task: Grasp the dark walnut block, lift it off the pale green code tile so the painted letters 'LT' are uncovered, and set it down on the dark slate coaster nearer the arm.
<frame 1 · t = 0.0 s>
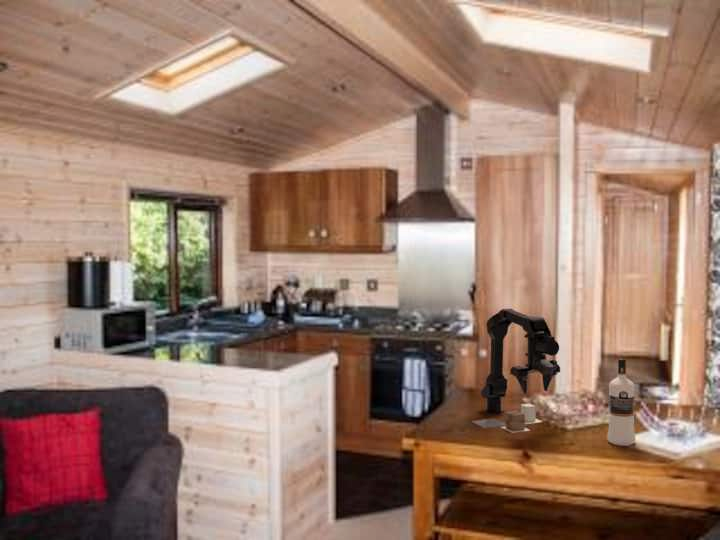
hand: (535, 392, 249), 15 cm above the table, fingers open, 9 cm apart
code tile HI: (528, 420, 262), on the table
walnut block: (515, 428, 252), resting on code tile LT
slate coaster: (489, 424, 259), on the table
grey block: (528, 420, 262), resting on code tile HI
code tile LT: (515, 429, 252), on the table
vodka: (621, 442, 235), on the table
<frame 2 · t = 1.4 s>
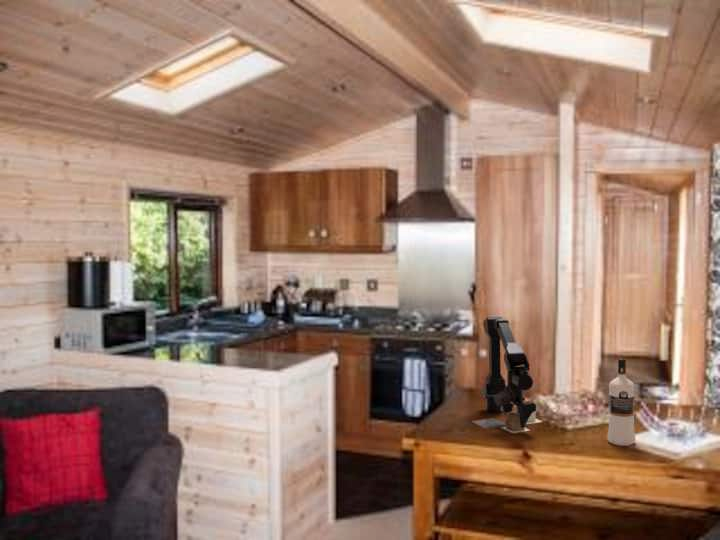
hand: (515, 424, 252), 2 cm above the table, fingers open, 9 cm apart
nothing on the table moved.
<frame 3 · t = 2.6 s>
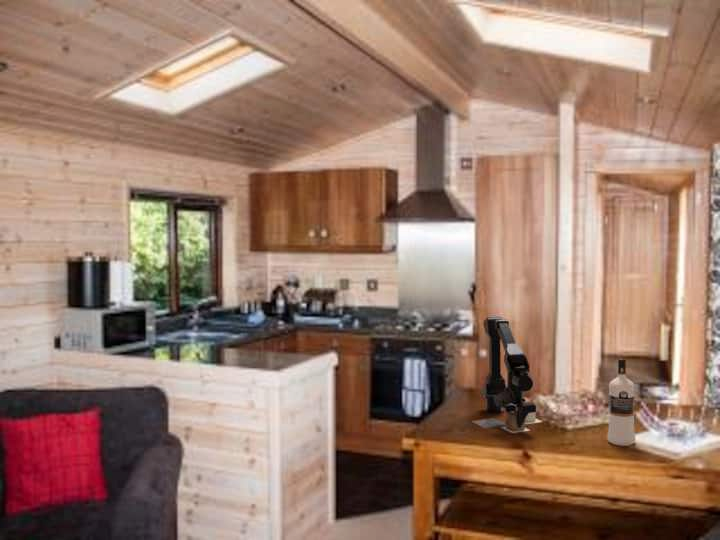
hand: (515, 425, 252), 2 cm above the table, fingers closed on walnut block, 5 cm apart
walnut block: (515, 428, 252), resting on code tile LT, touching gripper
everything else where it was.
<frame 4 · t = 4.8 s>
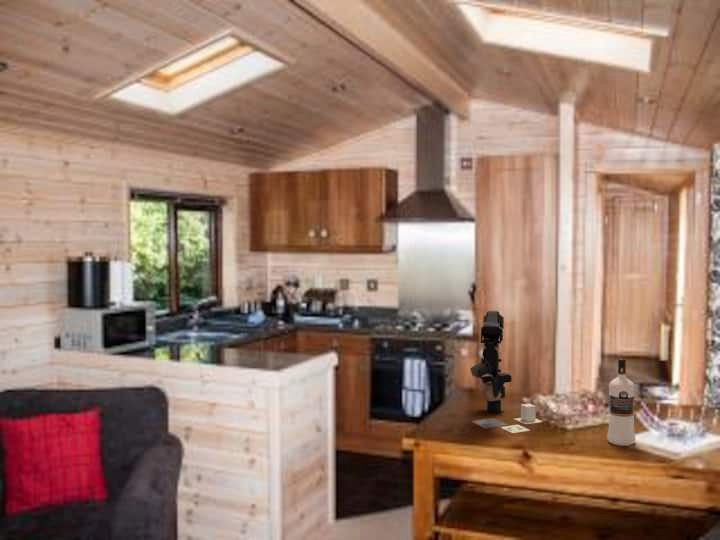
hand: (491, 395, 258), 11 cm above the table, fingers closed on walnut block, 5 cm apart
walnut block: (491, 398, 258), point 10 cm above the table, touching gripper
everything else where it was.
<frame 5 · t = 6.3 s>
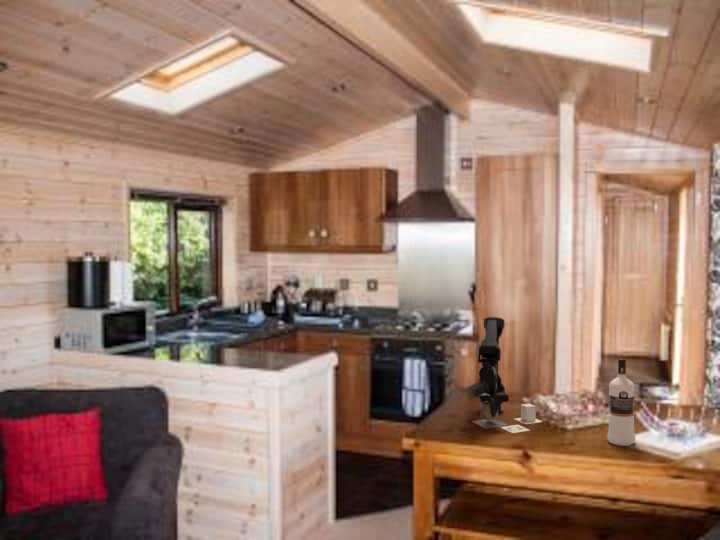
hand: (489, 415, 259), 4 cm above the table, fingers closed on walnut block, 5 cm apart
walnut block: (489, 418, 259), point 2 cm above the table, touching gripper
everything else where it was.
when the fingers open (3 cm above the table, at t = 7.2 s): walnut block drops 1 cm, resting on slate coaster.
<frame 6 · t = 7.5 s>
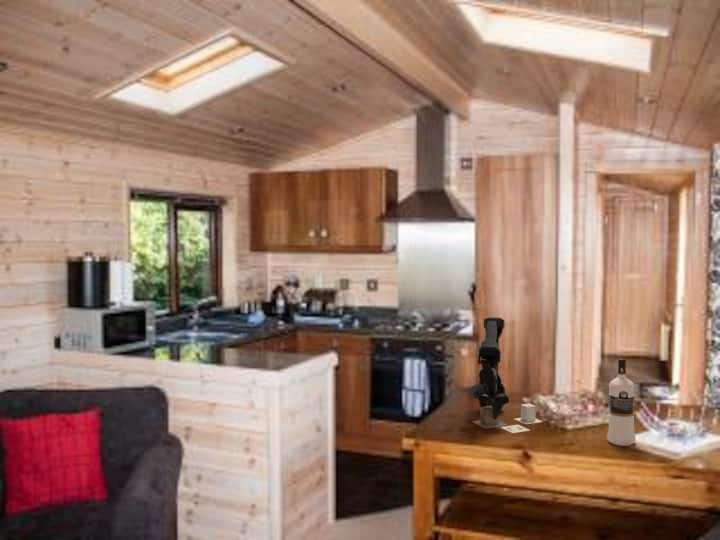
hand: (489, 416, 259), 3 cm above the table, fingers open, 8 cm apart
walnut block: (489, 423, 259), resting on slate coaster
everything else where it was.
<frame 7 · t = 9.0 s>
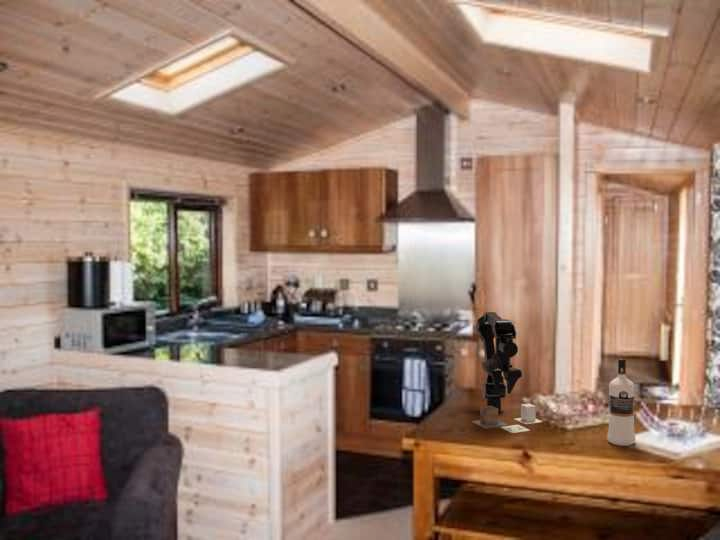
hand: (502, 390, 262), 12 cm above the table, fingers open, 9 cm apart
nothing on the table moved.
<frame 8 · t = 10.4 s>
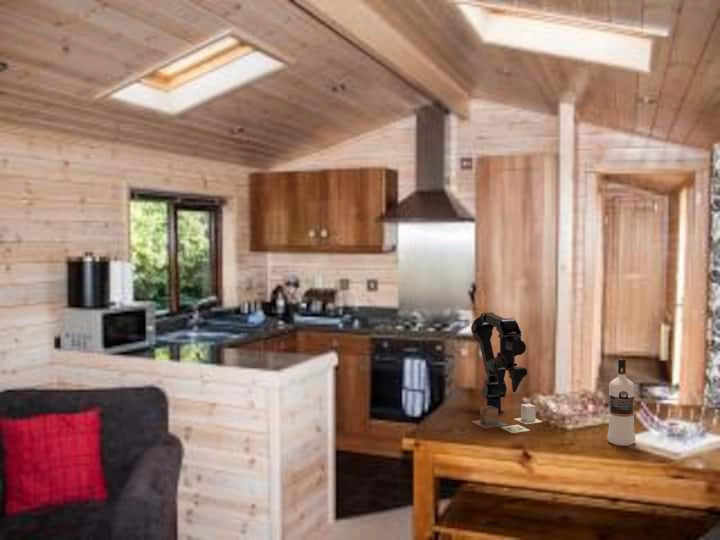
hand: (507, 389, 263), 13 cm above the table, fingers open, 9 cm apart
nothing on the table moved.
at the end: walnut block inside the target area on the slate coaster (0.0 cm from its centre), point 0.4 cm above the slate coaster's base; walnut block tilted 0°; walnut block touching slate coaster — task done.
